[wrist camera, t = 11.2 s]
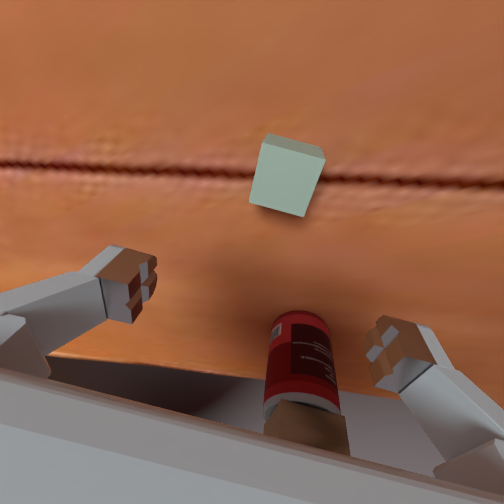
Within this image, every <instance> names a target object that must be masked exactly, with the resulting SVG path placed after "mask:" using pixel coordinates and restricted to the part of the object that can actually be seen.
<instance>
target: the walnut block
mask: <svg viewBox="0 0 504 504" xmlns="http://www.w3.org/2000/svg"><path fill="white" fill-rule="evenodd" d="M264 435H268V436H272V437H276V438H280V439H284V440H288V441H292V442H296V443H300V444H304V445H308V446H311V447H315V448H319V449H323V450H327V451H331V452H335V453H339V454H343V455H347V456H350V449H349V443H348V436H347V430H346V422H345V417H344V416H342V415H338V414H334V413H331V412H327V411H324V410H320V409H316V408H313V407H309V406H306V405H302V404H298V403H295V402H291V401H288V400H284V399H281V400H280V401H279V403H278V404H277V406H276V407H275V409H274V411H273V412H272V414H271V415H270V417H269V418H268V420H267V422H266V423H265V425H264Z"/></svg>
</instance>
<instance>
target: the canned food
mask: <svg viewBox="0 0 504 504" xmlns="http://www.w3.org/2000/svg"><path fill="white" fill-rule="evenodd" d="M264 392H265V393H264V404H263V416H264V419H265V421H266V422H267V420H268V418H269V417H270V415H271V414H272V412H273V411H274V409H275V407H276V406H277V404H278V403H279V401H280V400H281V399H284V400H288V401H291V402H295V403H298V404H302V405H306V406H309V407H313V408H316V409H320V410H324V411H327V412H331V413H334V414H338V415H341V412H340V403H339V396H338V389H337V382H336V375H335V368H334V361H333V354H332V347H331V340H330V333H329V330H328V328H327V326H326V324H325V322H324V321H323V320H322V319H321V318H320V317H319V316H317V315H315V314H313V313H310V312H305V311H292V312H288V313H285V314H283V315H281V316H280V317H278V318H277V320H276V321H275V323H274V325H273V327H272V330H271V336H270V346H269V355H268V364H267V373H266V382H265V391H264Z"/></svg>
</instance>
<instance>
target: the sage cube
mask: <svg viewBox="0 0 504 504" xmlns="http://www.w3.org/2000/svg"><path fill="white" fill-rule="evenodd" d="M325 160H326V159H325V157H324V154H323V152H322V150H321V147H318V146H314V145H311V144H307V143H303V142H300V141H296V140H292V139H289V138H285V137H281V136H278V135H274V134H270V133H268V134H267V136H266V137H265V139H264V140H263V142H262V146H261V150H260V154H259V159H258V163H257V167H256V172H255V176H254V180H253V185H252V189H251V194H250V198H249V203H253V204H257V205H260V206H264V207H268V208H271V209H275V210H279V211H282V212H286V213H290V214H293V215H297V216H301V217H304V215H305V212H306V210H307V207H308V204H309V202H310V199H311V197H312V194H313V191H314V189H315V186H316V184H317V181H318V178H319V176H320V173H321V171H322V168H323V165H324V163H325Z"/></svg>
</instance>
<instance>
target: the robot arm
mask: <svg viewBox="0 0 504 504" xmlns="http://www.w3.org/2000/svg"><path fill="white" fill-rule="evenodd" d="M156 266H157V258H156V257H155V256H153V255H150V254H146V253H143V252H139V251H136V250H132V249H129V248H124V247H121V246H117V245H109V246H108V247H107V248H105V249H104V250H103V251H102V252H101V253H99V254H98V255H97V256H96V257H95V258H93V259H92V260H91V261H90V262H89V263H88V264H86V265H85V266H84V267H83V268H82V269H80V270H79V271H78V272H73V271H71V272H68V273H65V274H61V275H58V276H55V277H52V278H48V279H45V280H42V281H38V282H35V283H32V284H29V285H25V286H22V287H19V288H15V289H12V290H9V291H5V292H2V293H0V504H504V410H503V409H502V408H501V407H499V406H498V405H497V404H496V403H495V402H494V401H493V400H492V399H491V398H489V397H488V396H487V395H486V394H485V393H484V392H483V391H482V390H480V389H479V388H478V387H477V386H476V385H475V384H474V383H473V382H471V381H470V380H469V379H468V378H467V377H466V376H465V375H464V374H462V373H461V372H460V371H457V370H455V369H454V367H453V365H452V364H451V362H450V360H449V359H448V357H447V355H446V353H445V352H444V350H443V348H442V347H441V345H440V343H439V342H438V340H437V338H436V336H435V335H434V333H433V331H432V330H431V329H430V328H429V327H428V326H427V325H422V324H418V323H414V322H409V321H405V320H401V319H397V318H393V317H389V316H385V315H383V316H381V317H379V318H378V320H377V321H376V325H377V327H375V328H373V329H370V330H369V331H368V333H367V334H366V336H365V339H364V352H365V355H366V357H367V358H368V359H369V360H370V361H371V364H370V366H369V370H370V374H371V377H372V381H373V384H374V387H378V388H381V389H385V390H388V391H392V392H395V393H399V396H400V398H401V399H402V400H403V402H404V403H405V405H406V406H407V407H408V409H409V410H410V412H411V413H412V414H413V416H414V417H415V419H416V420H417V421H418V423H419V424H420V425H421V427H422V428H423V430H424V431H425V433H426V434H427V435H428V437H429V438H430V440H431V441H432V442H433V444H434V445H435V446H436V448H437V449H438V451H439V452H440V453H441V455H442V456H443V457H444V459H445V460H446V462H445V463H442V464H440V465H438V466H436V467H435V468H434V470H433V473H434V475H435V478H433V477H429V476H425V475H421V474H417V473H413V472H409V471H405V470H401V469H397V468H393V467H390V466H386V465H382V464H378V463H374V462H370V461H366V460H362V459H358V458H354V457H351V456H347V455H343V454H339V453H335V452H331V451H327V450H323V449H319V448H315V447H311V446H308V445H304V444H300V443H296V442H292V441H288V440H284V439H280V438H276V437H272V436H268V435H264V434H261V433H257V432H253V431H249V430H245V429H241V428H236V427H233V426H229V425H225V424H221V423H218V422H214V421H210V420H206V419H202V418H198V417H194V416H190V415H186V414H182V413H178V412H175V411H170V410H167V409H163V408H159V407H154V406H151V405H147V404H143V403H139V402H135V401H131V400H127V399H124V398H120V397H116V396H111V395H108V394H104V393H100V392H96V391H92V390H88V389H84V388H80V387H76V386H72V385H69V384H65V383H61V382H57V381H53V380H49V379H47V377H48V376H49V375H50V374H51V371H50V367H49V365H48V363H47V361H46V359H45V357H44V356H46V355H47V354H49V353H51V352H52V351H54V350H56V349H58V348H59V347H61V346H63V345H65V344H66V343H68V342H70V341H71V340H73V339H75V338H77V337H78V336H80V335H82V334H83V333H85V332H87V331H89V330H90V329H92V328H94V327H95V326H97V325H99V324H101V323H102V322H104V321H106V320H107V319H111V320H116V321H120V322H125V323H129V324H133V322H134V321H135V319H136V318H137V317H138V315H139V314H140V312H141V311H142V309H143V308H142V303H143V302H145V301H148V300H149V299H150V298H151V296H152V294H153V292H154V290H155V288H156V284H157V274H156V273H155V271H154V269H155V267H156Z"/></svg>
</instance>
